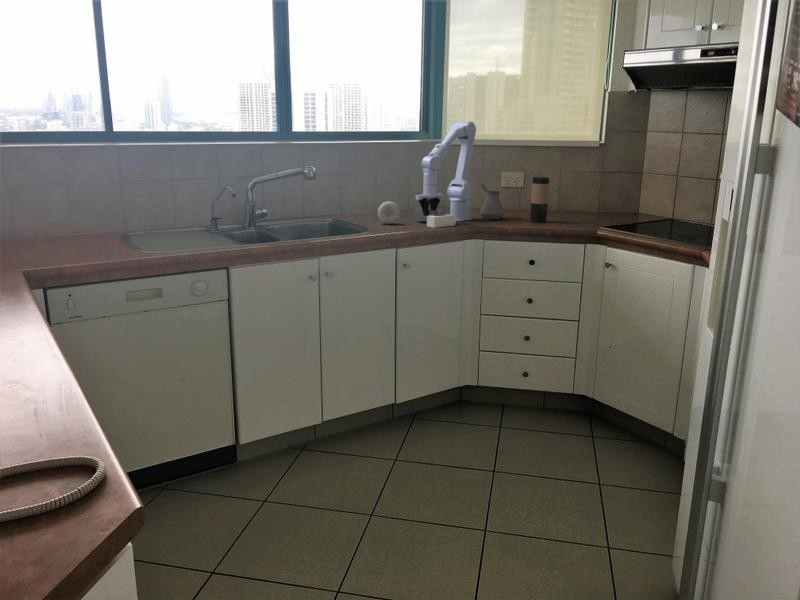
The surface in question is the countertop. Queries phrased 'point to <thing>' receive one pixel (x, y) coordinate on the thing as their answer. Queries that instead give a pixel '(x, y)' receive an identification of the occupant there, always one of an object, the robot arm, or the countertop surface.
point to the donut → (395, 212)
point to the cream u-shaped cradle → (441, 220)
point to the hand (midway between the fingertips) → (429, 215)
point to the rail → (419, 213)
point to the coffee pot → (492, 205)
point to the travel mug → (539, 199)
